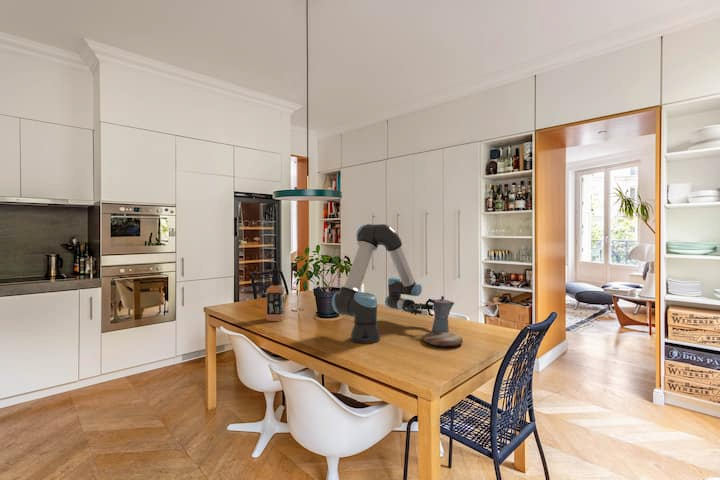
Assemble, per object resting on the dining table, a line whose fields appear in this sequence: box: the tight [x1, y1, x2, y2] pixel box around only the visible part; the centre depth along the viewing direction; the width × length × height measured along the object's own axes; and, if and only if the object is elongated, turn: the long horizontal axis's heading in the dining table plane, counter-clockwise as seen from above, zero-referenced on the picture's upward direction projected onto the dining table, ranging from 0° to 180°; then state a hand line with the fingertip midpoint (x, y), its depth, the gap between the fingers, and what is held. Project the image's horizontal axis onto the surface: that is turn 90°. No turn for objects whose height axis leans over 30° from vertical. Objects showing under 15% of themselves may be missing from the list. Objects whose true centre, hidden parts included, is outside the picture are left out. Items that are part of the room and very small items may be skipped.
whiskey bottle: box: [265, 268, 286, 322], centre depth 235 cm, size 10×10×32 cm
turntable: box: [423, 331, 463, 347], centre depth 187 cm, size 19×19×1 cm
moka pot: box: [425, 295, 455, 333], centre depth 206 cm, size 10×15×20 cm, turn 78°
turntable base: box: [430, 344, 457, 348], centre depth 187 cm, size 14×14×1 cm
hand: (434, 311), depth 209 cm, fingers open, 13 cm apart
